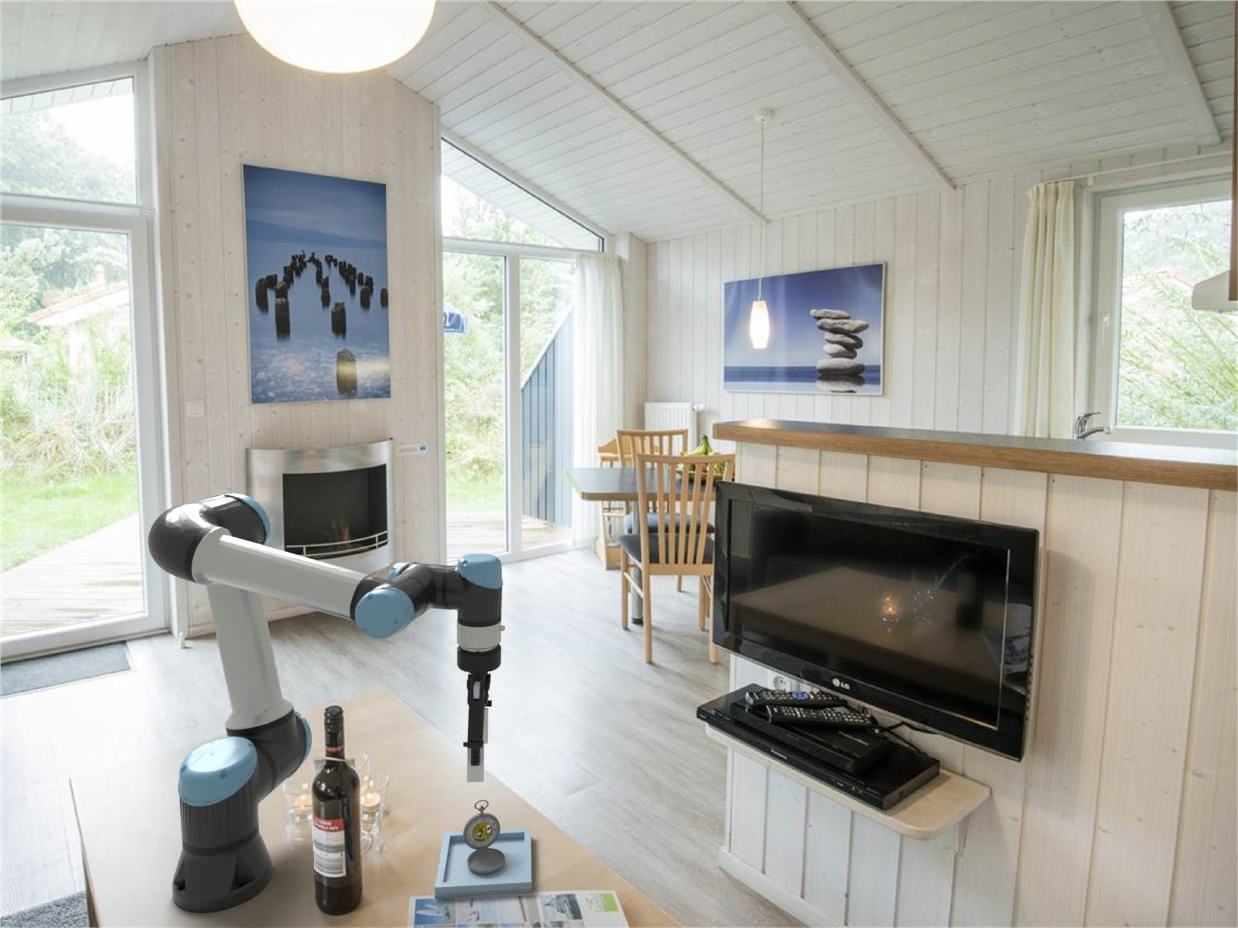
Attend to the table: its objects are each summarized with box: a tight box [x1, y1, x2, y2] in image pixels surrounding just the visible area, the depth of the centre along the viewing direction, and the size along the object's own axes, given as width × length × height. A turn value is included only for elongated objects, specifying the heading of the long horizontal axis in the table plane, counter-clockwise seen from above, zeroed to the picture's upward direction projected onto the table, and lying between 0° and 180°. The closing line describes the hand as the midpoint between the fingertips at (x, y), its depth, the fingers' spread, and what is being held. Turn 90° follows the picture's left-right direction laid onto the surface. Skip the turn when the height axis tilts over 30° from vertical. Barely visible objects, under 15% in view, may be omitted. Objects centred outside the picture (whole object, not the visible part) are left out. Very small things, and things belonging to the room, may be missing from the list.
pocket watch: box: [462, 799, 505, 874], centre depth 143 cm, size 8×8×10 cm
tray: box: [434, 827, 532, 898], centre depth 143 cm, size 16×16×2 cm
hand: (478, 761), depth 142 cm, fingers open, 13 cm apart
